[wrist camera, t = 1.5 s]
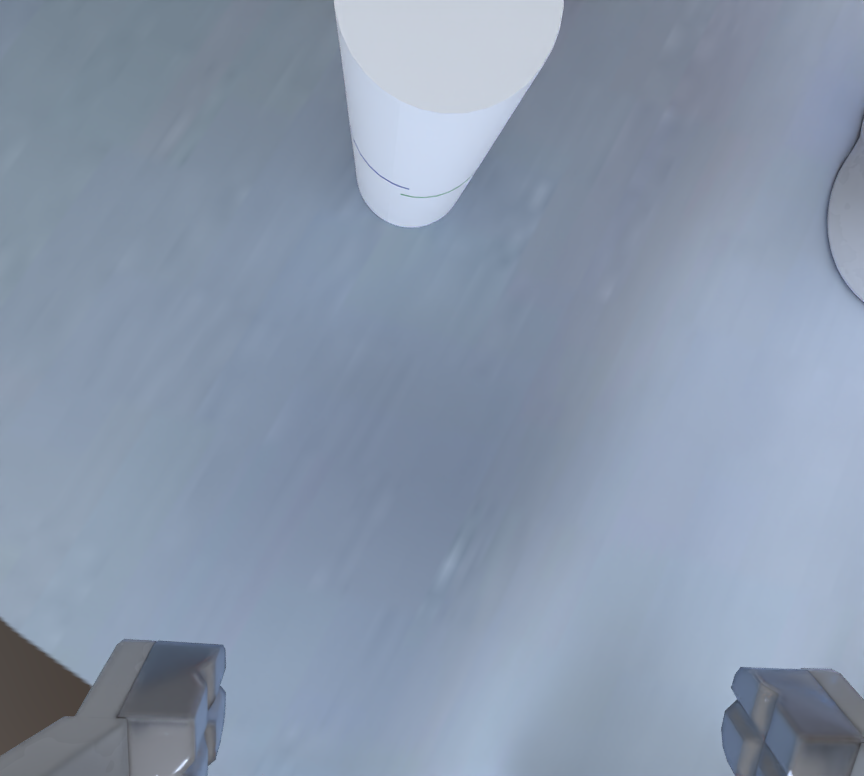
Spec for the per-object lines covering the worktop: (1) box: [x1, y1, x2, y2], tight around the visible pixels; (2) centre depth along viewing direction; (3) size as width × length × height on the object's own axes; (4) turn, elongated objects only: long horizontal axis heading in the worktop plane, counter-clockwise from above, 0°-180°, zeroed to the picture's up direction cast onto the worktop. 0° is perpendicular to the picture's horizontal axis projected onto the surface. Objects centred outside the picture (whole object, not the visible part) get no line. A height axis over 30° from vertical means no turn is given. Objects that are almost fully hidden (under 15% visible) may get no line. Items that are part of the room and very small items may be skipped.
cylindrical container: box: [334, 0, 564, 228], centre depth 34 cm, size 7×7×25 cm
